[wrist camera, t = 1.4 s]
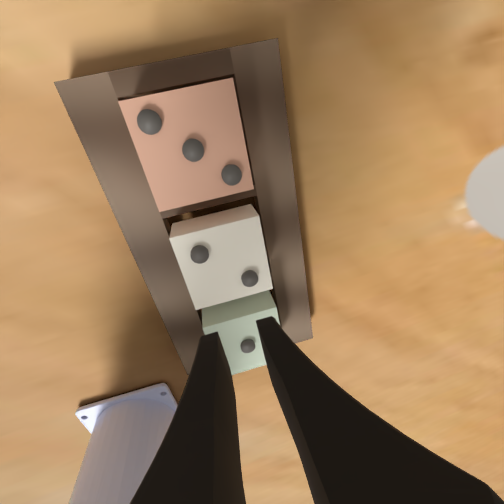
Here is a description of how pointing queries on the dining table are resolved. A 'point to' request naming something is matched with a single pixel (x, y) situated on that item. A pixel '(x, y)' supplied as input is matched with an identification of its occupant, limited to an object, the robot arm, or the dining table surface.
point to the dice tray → (157, 225)
